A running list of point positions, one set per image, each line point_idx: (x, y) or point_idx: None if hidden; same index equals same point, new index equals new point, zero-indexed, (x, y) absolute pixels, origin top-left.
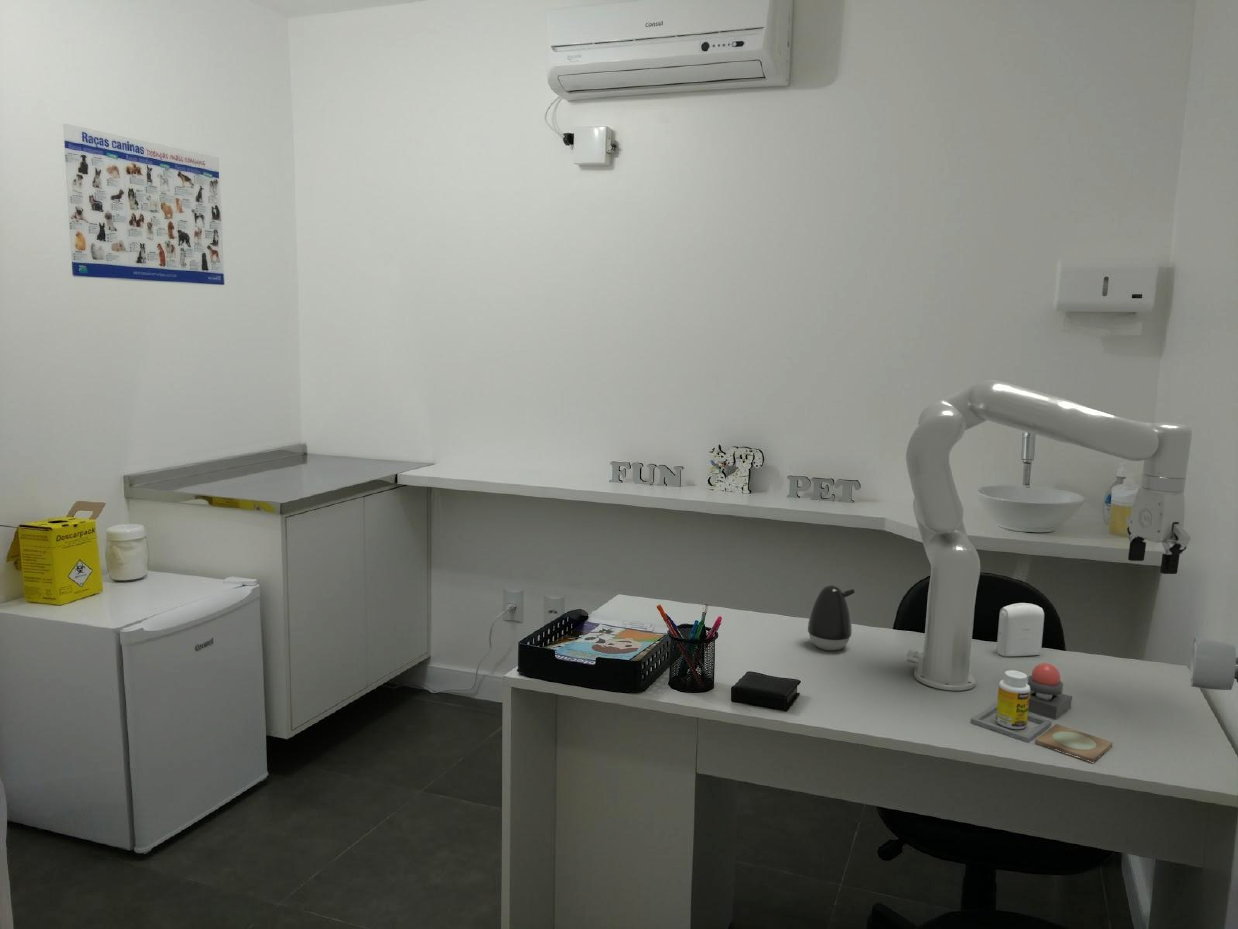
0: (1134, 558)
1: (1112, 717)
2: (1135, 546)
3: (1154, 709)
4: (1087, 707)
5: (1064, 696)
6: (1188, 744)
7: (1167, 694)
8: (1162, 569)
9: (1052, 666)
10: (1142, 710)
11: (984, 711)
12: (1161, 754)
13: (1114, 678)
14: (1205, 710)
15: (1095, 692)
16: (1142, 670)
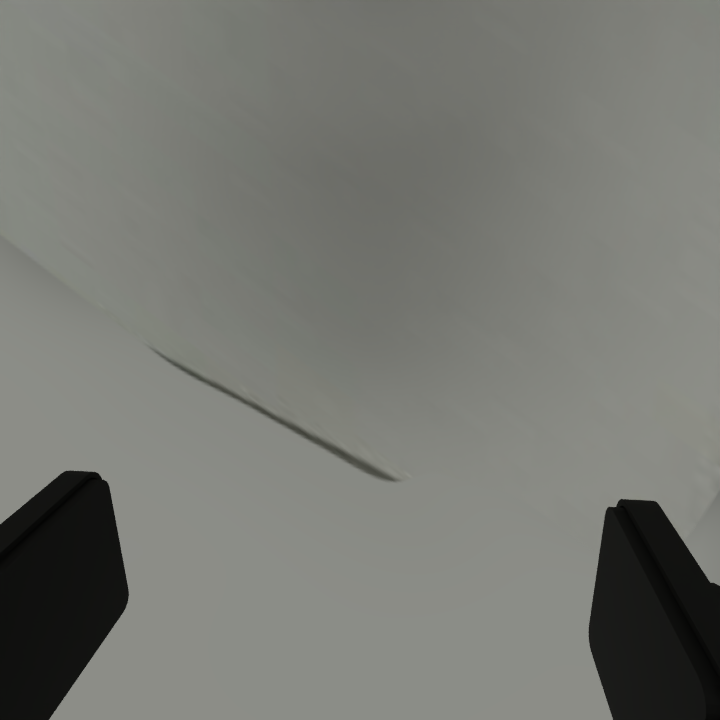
0: (611, 558)
1: (278, 106)
2: (669, 686)
3: (336, 287)
4: (353, 64)
5: None
6: (116, 223)
7: (439, 402)
8: (44, 489)
9: None
10: (329, 244)
11: None
12: (45, 96)
13: (578, 322)
14: (328, 427)
15: (471, 176)
16: (627, 458)
